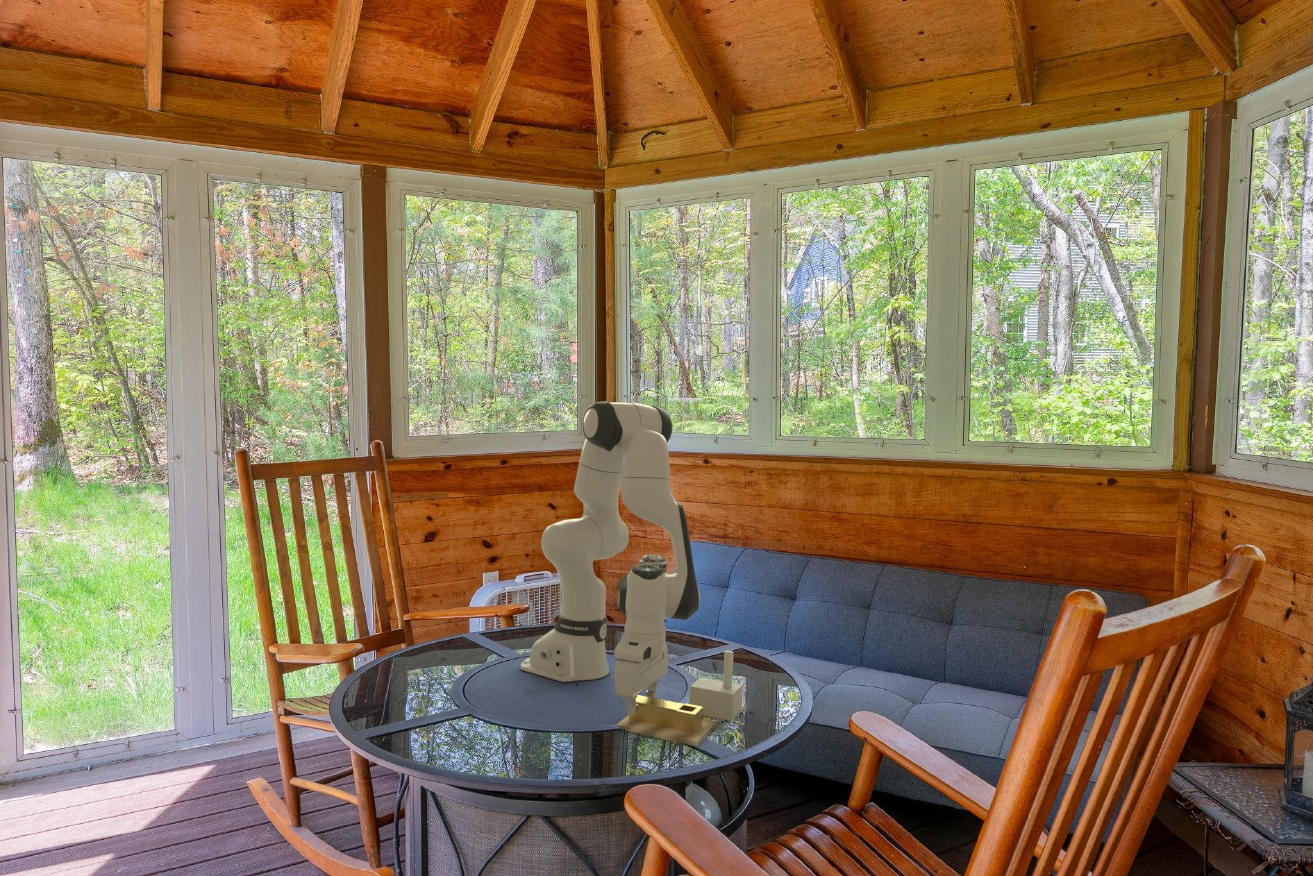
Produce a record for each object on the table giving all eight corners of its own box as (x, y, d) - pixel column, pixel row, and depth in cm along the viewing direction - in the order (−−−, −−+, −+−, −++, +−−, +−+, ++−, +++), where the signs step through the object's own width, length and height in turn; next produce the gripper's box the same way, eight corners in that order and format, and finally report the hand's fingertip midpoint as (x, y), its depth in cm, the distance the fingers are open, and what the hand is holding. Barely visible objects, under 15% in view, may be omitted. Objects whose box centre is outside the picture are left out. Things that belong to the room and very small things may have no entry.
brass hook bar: (627, 719, 181) (628, 701, 181) (637, 712, 186) (638, 694, 185) (693, 733, 175) (694, 714, 175) (702, 725, 180) (703, 706, 179)
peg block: (688, 712, 189) (691, 650, 189) (699, 702, 196) (702, 642, 195) (731, 721, 185) (734, 657, 185) (741, 710, 192) (744, 649, 191)
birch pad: (616, 729, 178) (616, 724, 178) (639, 710, 189) (640, 706, 189) (696, 746, 171) (696, 741, 171) (716, 726, 182) (716, 721, 182)
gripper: (650, 628, 192) (647, 688, 193) (610, 652, 174) (607, 718, 174) (676, 632, 190) (673, 693, 191) (638, 657, 171) (635, 724, 172)
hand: (641, 705), depth 182 cm, fingers open, 8 cm apart
